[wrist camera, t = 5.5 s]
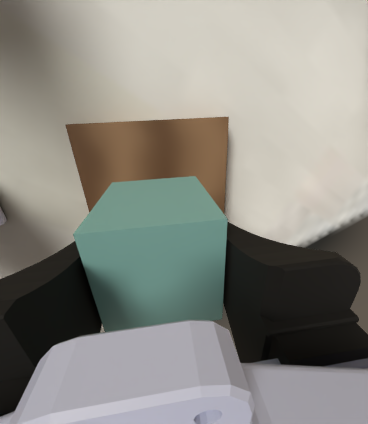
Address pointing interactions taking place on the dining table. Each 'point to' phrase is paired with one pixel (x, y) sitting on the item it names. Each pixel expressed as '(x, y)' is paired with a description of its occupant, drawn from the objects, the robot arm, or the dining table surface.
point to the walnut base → (151, 153)
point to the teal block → (154, 253)
